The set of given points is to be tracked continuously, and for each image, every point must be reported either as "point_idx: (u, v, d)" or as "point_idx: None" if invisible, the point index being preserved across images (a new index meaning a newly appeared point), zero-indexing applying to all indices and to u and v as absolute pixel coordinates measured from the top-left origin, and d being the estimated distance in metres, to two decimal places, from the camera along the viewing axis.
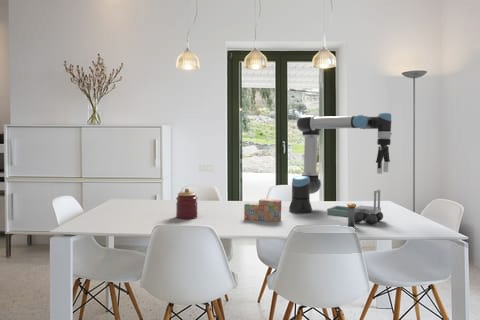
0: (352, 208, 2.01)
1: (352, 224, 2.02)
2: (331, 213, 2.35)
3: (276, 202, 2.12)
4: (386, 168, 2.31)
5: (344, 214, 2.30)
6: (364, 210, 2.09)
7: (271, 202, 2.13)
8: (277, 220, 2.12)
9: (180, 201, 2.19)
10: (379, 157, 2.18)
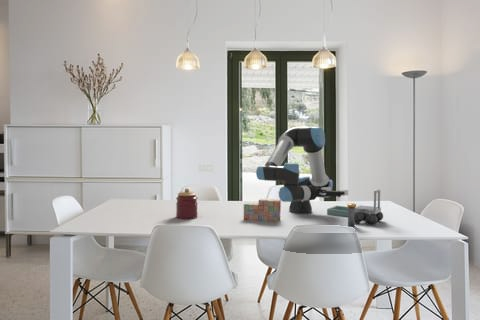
0: (352, 208, 2.01)
1: (352, 224, 2.02)
2: (331, 213, 2.35)
3: (276, 202, 2.13)
4: None
5: (344, 214, 2.30)
6: (364, 210, 2.09)
7: (271, 202, 2.13)
8: (277, 220, 2.13)
9: (180, 201, 2.19)
10: None
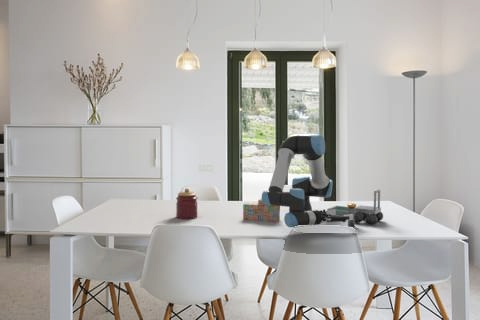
0: (352, 208, 2.01)
1: (352, 224, 2.02)
2: None
3: None
4: None
5: (344, 214, 2.30)
6: (364, 210, 2.09)
7: None
8: (277, 219, 2.14)
9: (180, 201, 2.19)
10: None
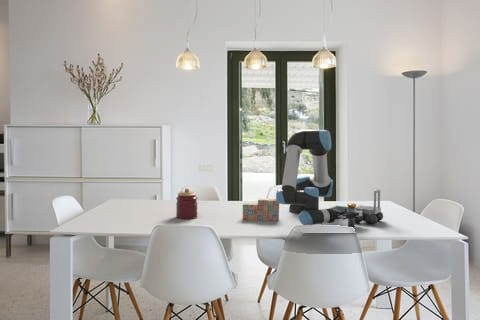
0: (352, 208, 2.01)
1: (352, 224, 2.02)
2: None
3: (275, 201, 2.14)
4: None
5: None
6: (364, 210, 2.09)
7: (270, 202, 2.15)
8: (276, 219, 2.15)
9: (180, 201, 2.19)
10: None
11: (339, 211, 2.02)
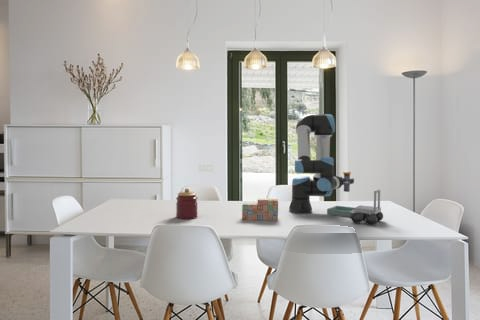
0: (348, 175, 2.30)
1: (348, 189, 2.31)
2: (331, 213, 2.35)
3: (275, 201, 2.15)
4: None
5: (344, 214, 2.30)
6: (364, 210, 2.09)
7: (270, 201, 2.16)
8: (276, 219, 2.16)
9: (180, 201, 2.19)
10: None
11: None
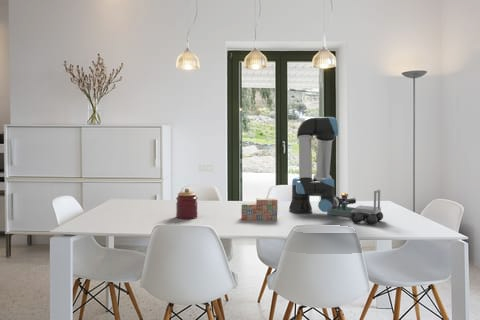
0: (346, 197, 2.36)
1: None
2: (331, 213, 2.35)
3: (274, 201, 2.16)
4: None
5: (344, 214, 2.30)
6: (364, 210, 2.09)
7: (269, 201, 2.17)
8: (275, 218, 2.17)
9: (180, 201, 2.19)
10: None
11: None
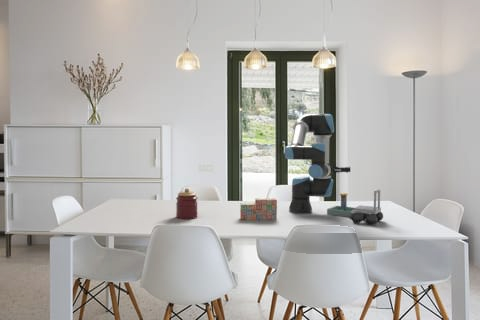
0: (345, 197, 2.37)
1: (345, 210, 2.37)
2: (331, 213, 2.35)
3: (274, 201, 2.17)
4: None
5: (344, 214, 2.30)
6: (364, 210, 2.09)
7: (269, 201, 2.17)
8: (275, 218, 2.18)
9: (180, 201, 2.19)
10: None
11: None
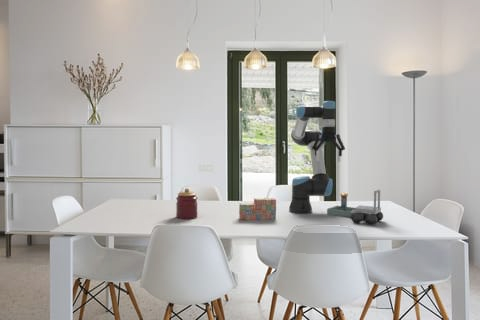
0: (346, 197, 2.36)
1: None
2: (331, 213, 2.35)
3: (273, 200, 2.18)
4: None
5: (344, 214, 2.30)
6: (364, 210, 2.09)
7: (268, 201, 2.18)
8: (274, 218, 2.19)
9: (180, 201, 2.19)
10: None
11: None
